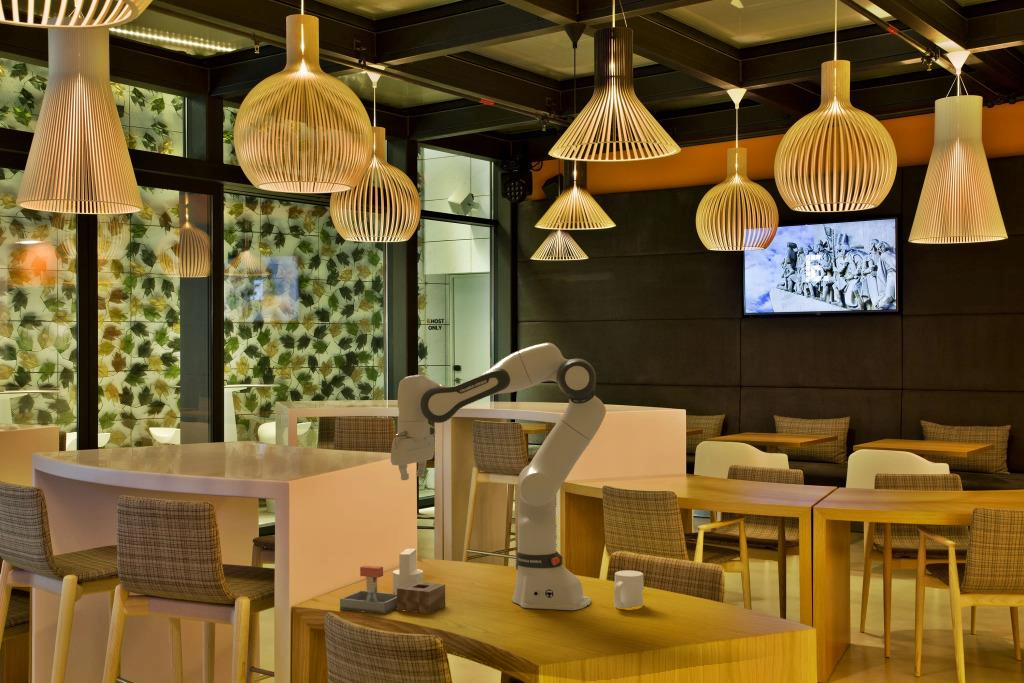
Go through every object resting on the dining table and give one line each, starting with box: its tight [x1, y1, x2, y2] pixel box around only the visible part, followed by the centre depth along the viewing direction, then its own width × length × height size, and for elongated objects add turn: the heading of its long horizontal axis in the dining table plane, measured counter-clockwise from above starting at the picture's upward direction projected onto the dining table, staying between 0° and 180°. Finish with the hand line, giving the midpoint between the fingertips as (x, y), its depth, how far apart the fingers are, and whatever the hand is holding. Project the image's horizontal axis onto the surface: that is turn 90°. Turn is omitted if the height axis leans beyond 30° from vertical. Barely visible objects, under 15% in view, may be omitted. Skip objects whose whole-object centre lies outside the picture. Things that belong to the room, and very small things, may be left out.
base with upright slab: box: [392, 548, 424, 594], centre depth 315 cm, size 9×9×12 cm
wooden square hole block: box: [396, 581, 446, 614], centre depth 295 cm, size 10×10×6 cm
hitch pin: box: [359, 565, 384, 602], centre depth 296 cm, size 6×3×10 cm, turn 67°
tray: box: [339, 590, 397, 615], centre depth 296 cm, size 14×11×3 cm
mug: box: [613, 569, 645, 608], centre depth 296 cm, size 12×9×8 cm
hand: (412, 478), depth 306 cm, fingers open, 8 cm apart
